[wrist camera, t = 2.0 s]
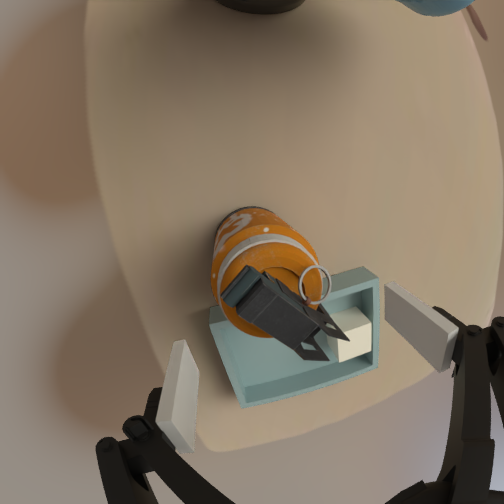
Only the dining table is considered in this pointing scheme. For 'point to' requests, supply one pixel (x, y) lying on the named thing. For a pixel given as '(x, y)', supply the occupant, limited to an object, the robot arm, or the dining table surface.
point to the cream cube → (350, 334)
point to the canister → (271, 281)
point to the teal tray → (287, 360)
